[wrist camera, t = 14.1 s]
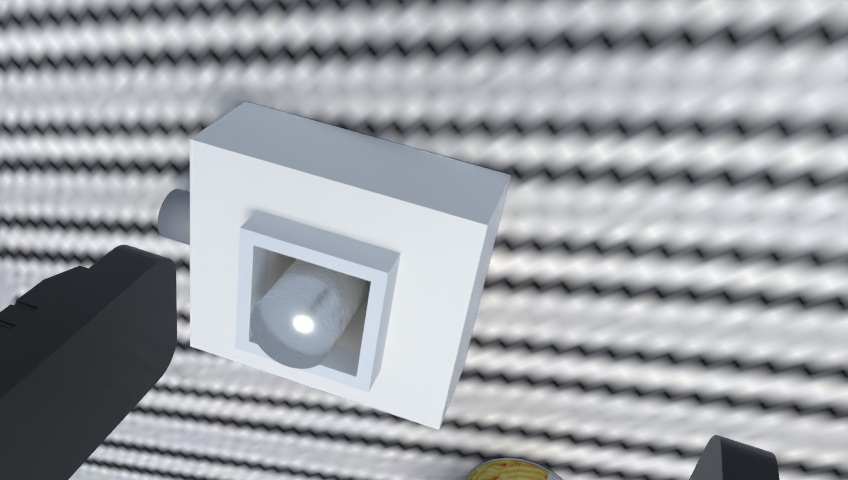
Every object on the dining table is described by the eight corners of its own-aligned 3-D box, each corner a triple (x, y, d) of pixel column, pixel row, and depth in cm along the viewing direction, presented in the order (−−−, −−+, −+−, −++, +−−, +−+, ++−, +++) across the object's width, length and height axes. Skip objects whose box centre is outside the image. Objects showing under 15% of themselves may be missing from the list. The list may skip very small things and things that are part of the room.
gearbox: (511, 175, 42) (478, 245, 36) (463, 366, 50) (429, 454, 43) (198, 88, 45) (114, 138, 39) (197, 280, 53) (127, 350, 46)
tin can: (399, 219, 46) (334, 311, 38) (389, 279, 48) (326, 379, 40) (330, 199, 47) (251, 285, 38) (323, 259, 49) (248, 353, 41)
